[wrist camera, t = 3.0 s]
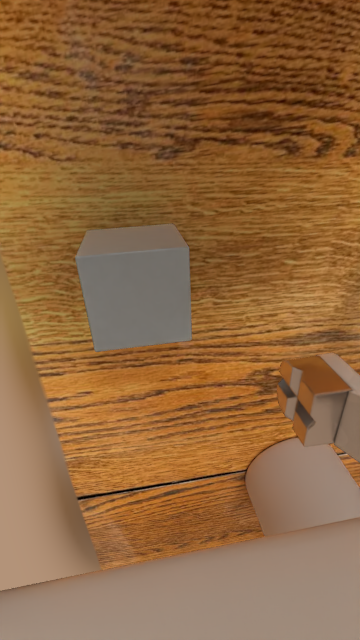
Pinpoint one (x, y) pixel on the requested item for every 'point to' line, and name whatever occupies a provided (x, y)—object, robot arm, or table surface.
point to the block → (136, 286)
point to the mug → (300, 487)
